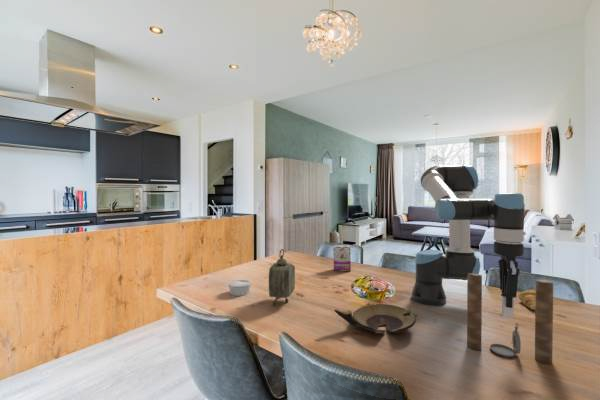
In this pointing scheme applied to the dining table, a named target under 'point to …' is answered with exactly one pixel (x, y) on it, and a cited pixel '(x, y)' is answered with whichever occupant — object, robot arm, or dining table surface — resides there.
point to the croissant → (528, 298)
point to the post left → (474, 311)
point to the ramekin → (239, 287)
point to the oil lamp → (380, 318)
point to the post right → (544, 321)
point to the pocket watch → (507, 350)
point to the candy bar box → (342, 258)
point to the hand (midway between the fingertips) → (507, 316)
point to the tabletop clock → (281, 279)
